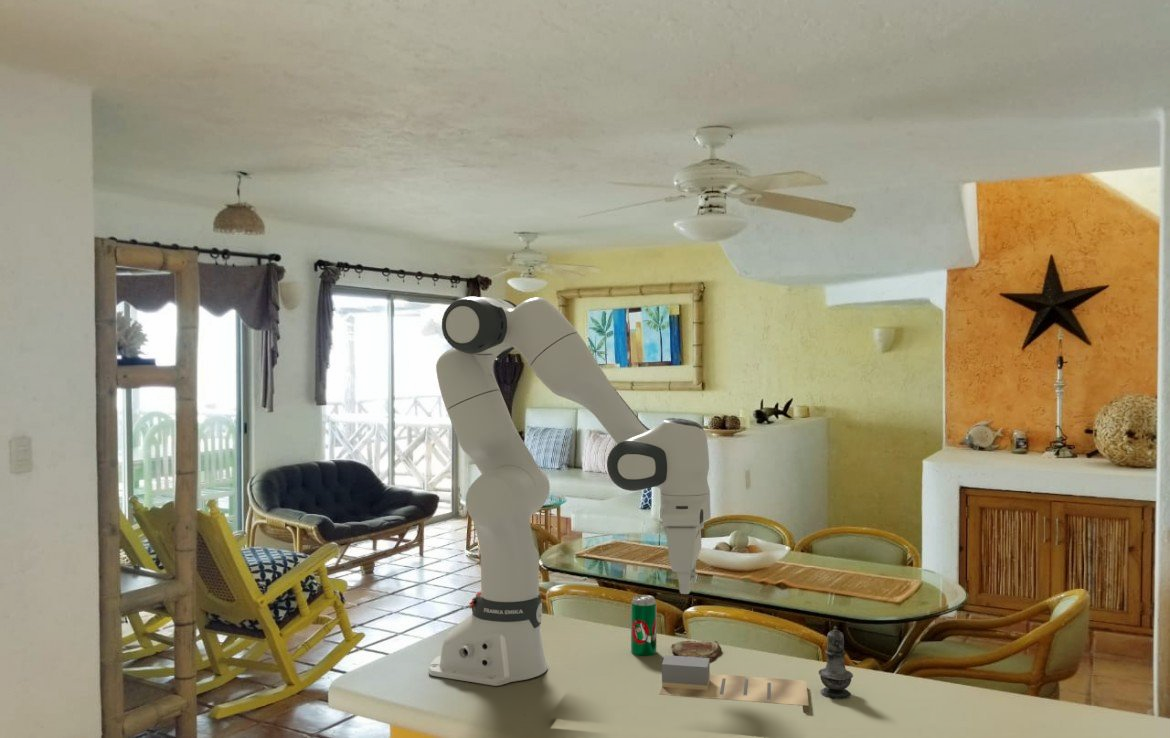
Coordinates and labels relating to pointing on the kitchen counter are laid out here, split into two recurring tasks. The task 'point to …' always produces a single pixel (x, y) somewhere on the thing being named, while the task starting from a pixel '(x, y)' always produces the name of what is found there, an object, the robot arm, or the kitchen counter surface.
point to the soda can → (643, 625)
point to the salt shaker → (835, 668)
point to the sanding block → (686, 672)
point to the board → (749, 690)
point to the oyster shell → (697, 649)
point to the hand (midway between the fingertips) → (687, 586)
